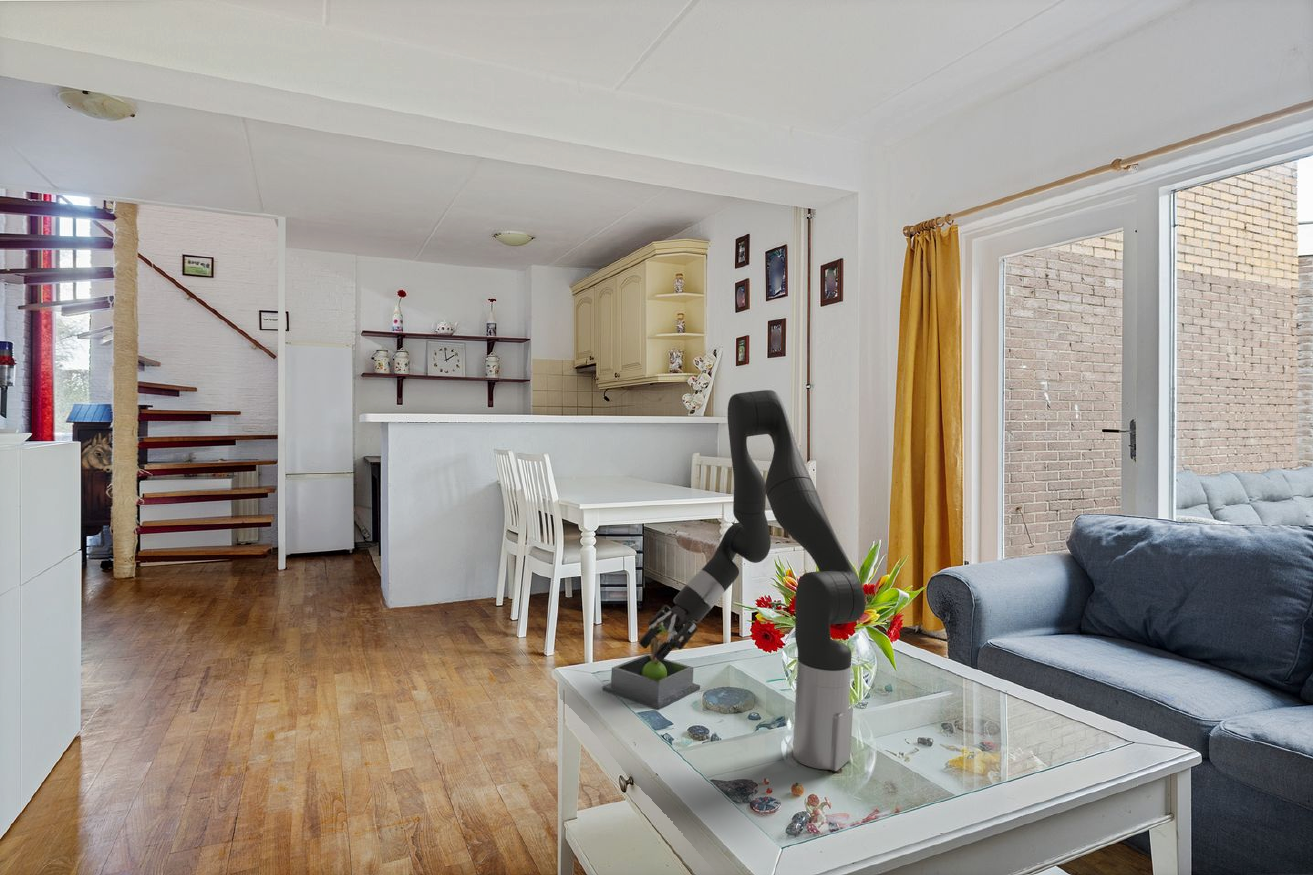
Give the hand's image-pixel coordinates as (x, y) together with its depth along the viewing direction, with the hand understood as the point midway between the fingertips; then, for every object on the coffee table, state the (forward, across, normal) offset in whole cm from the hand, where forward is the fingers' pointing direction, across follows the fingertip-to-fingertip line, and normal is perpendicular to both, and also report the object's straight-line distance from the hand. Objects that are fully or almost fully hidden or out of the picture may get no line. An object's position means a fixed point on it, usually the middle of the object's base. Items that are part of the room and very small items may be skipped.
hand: (649, 651), depth 158 cm
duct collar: (+5, 0, +7) cm, 8 cm away
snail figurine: (+4, +1, +6) cm, 8 cm away
